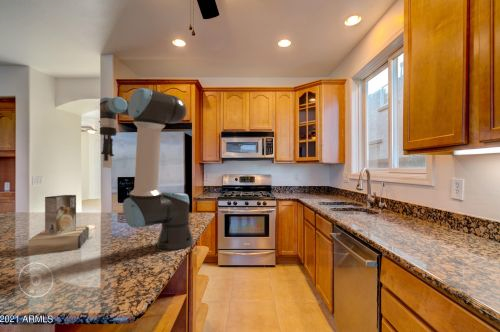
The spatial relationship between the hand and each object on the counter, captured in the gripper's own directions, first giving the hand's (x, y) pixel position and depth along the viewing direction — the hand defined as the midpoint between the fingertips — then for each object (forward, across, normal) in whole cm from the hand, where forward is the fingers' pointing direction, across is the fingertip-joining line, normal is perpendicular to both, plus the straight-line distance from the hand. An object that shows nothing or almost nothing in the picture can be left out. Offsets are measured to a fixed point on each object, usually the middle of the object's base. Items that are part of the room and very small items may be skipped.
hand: (107, 167), depth 125 cm
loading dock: (+35, +15, -16) cm, 41 cm away
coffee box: (+29, +15, -16) cm, 36 cm away
